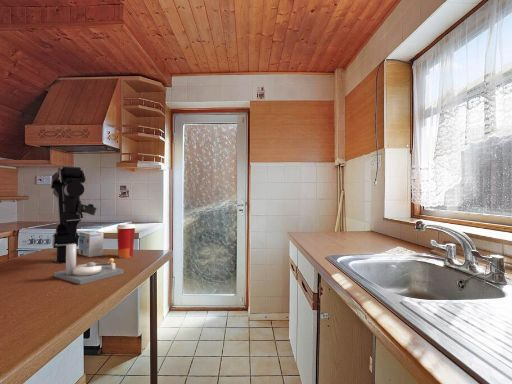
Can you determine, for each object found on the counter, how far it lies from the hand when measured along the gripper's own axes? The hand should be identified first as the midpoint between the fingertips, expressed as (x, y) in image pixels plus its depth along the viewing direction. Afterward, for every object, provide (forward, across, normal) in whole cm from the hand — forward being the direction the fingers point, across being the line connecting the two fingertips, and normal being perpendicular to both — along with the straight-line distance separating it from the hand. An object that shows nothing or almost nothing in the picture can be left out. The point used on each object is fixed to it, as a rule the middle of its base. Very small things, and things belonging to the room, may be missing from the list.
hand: (73, 238), depth 116 cm
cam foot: (+12, -14, -6) cm, 19 cm away
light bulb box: (+11, +26, -4) cm, 28 cm away
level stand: (+13, -12, -5) cm, 18 cm away
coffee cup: (+12, +15, -19) cm, 27 cm away
